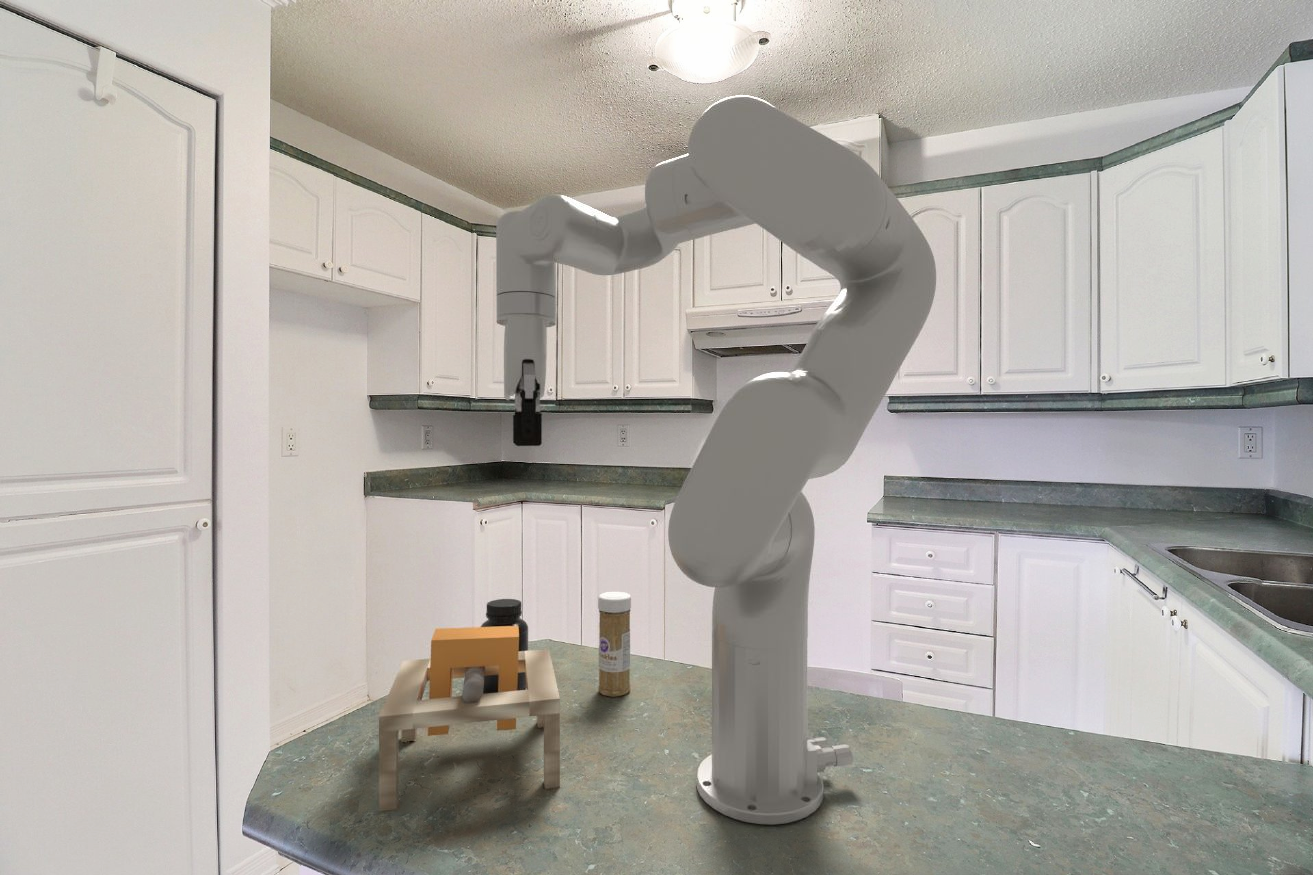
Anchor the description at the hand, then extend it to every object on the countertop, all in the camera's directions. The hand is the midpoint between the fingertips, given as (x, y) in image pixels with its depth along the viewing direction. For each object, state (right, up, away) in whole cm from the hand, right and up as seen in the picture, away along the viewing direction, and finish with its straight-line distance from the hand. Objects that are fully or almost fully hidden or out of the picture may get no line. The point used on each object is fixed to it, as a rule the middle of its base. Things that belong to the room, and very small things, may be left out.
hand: (526, 445), depth 81 cm
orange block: (-3, -30, -12) cm, 33 cm away
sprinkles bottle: (+11, -35, +6) cm, 37 cm away
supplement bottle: (-5, -35, +7) cm, 36 cm away
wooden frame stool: (-3, -34, -12) cm, 37 cm away
